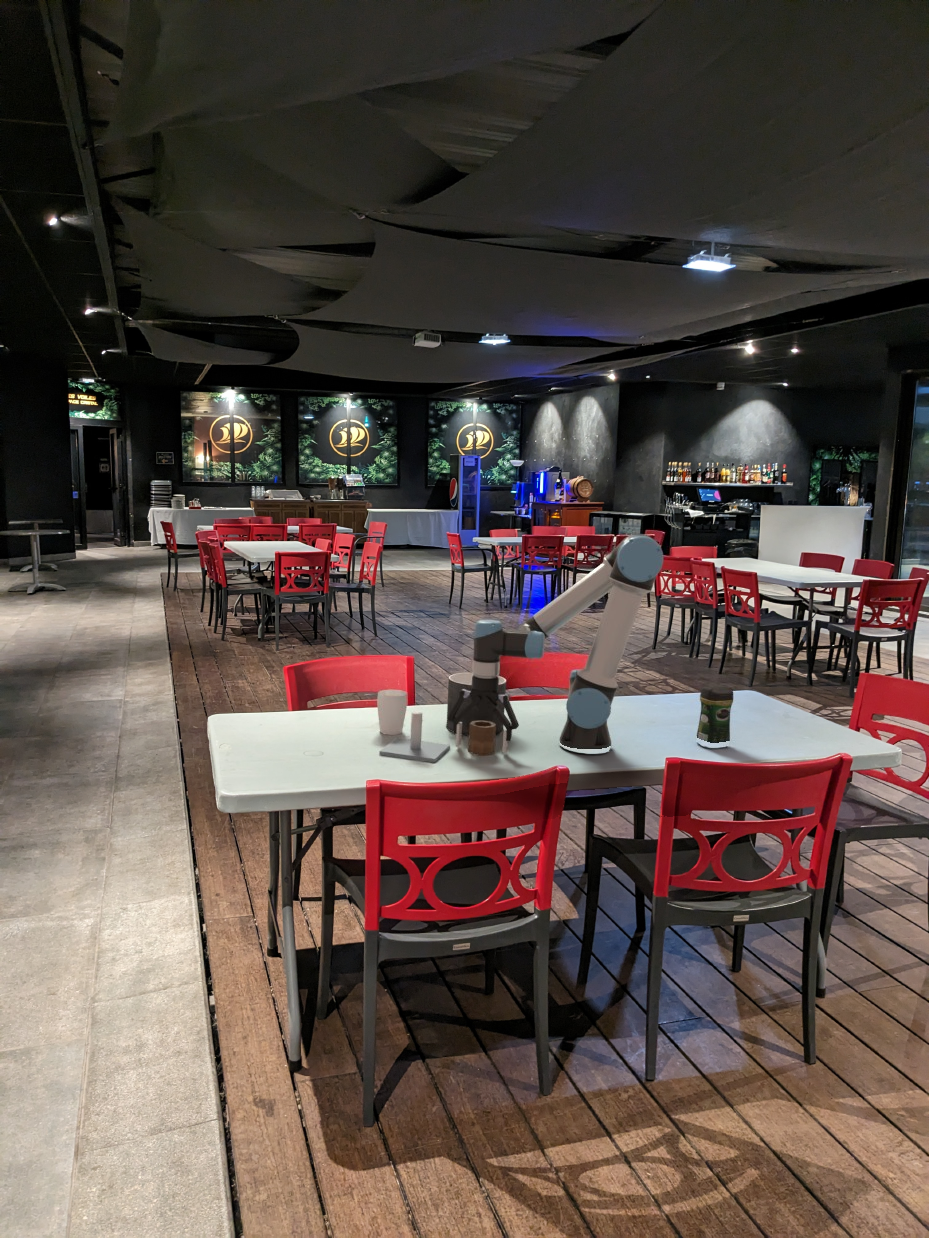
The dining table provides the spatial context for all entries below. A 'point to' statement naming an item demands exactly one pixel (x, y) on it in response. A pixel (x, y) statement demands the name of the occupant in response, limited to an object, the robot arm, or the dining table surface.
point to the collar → (482, 737)
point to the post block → (415, 744)
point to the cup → (391, 710)
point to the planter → (475, 714)
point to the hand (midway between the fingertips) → (481, 748)
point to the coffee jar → (715, 714)
